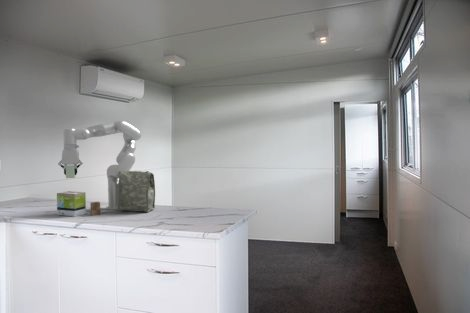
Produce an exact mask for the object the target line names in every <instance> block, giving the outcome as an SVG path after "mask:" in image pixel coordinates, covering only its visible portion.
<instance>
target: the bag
mask: <svg viewBox="0 0 470 313" xmlns="http://www.w3.org/2000/svg"><path fill="white" fill-rule="evenodd" d="M155 185H156V182H155V175H154V173H153V172H151V171H148V170H145V171H141V170H130V171H121V172H120V174H119V180H118V209H117V210H119V211H129V212H130V211H132V212H146V213H149V212H150V211H151V210H154V209H155V206H156V204H155V203H156V202H155V201H156V186H155Z"/></svg>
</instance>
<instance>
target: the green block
mask: <svg viewBox="0 0 470 313" xmlns="http://www.w3.org/2000/svg"><path fill="white" fill-rule="evenodd" d="M65 178H66V179H75V178H76V175H75V166H74V164H72V165H67V166H66V175H65Z"/></svg>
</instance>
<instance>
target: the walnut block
mask: <svg viewBox="0 0 470 313" xmlns="http://www.w3.org/2000/svg"><path fill="white" fill-rule="evenodd" d="M90 215H91V216H100V215H101V202H100V201H91V202H90Z"/></svg>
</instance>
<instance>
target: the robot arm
mask: <svg viewBox="0 0 470 313" xmlns="http://www.w3.org/2000/svg"><path fill="white" fill-rule="evenodd" d="M119 133H121V134H122V139H123V141H124V145H123V147H122V148H121V150H120V151H119V153H118V155H117V156H116V158H115V161H116V163H117V164H110V165H109V166H108V167H107V168H106V176H107V195H108V196H107V198H108V199H107V200H108V202H107V203H108V206H106V207H105V209H106V210H109V211H113V210H115V211H116V210H118V180H119V174H120V172H121V171H131V169H132V168H133V166H134V164H135V162H136V156H135V154H134V153H135V151H136V148H137V144H136V143H137V142H136V141H139V140H140V139H141V137H142V134H141V130H139V129H138V128H136V127H135V126H134V125H132V124H130V123H128V122H127V121H125V120H116V121H110V122H105V123H99V124H95V125H91V126H87V127H81V128H69V127H67V128H63V149H62V151H61V152H62V153H61V159H60V161H59V162H58V164H57V165H58V166H60V167H61V168H62V170H63V174H64V175H65V176H66V166H67V165H74V166H75V176H77V174H78V169H79V168H80V167H81V166H82V165H83V164H84V163H83V162H82V161H81V160H80V154H79V149H78V148H80V145H77V141H85V140H87V139H90V138H98V137H105V136H106V137H107V136H110V135H115V134H119Z"/></svg>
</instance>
